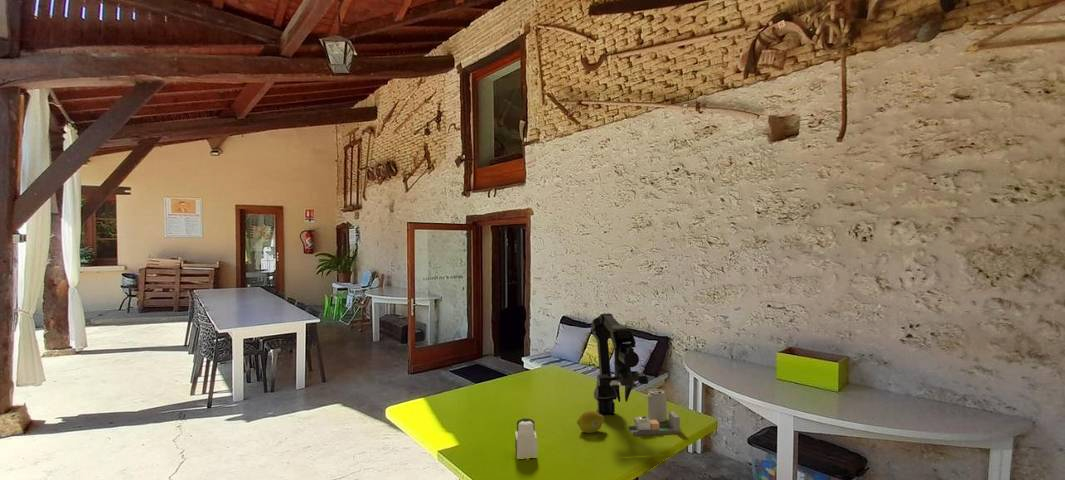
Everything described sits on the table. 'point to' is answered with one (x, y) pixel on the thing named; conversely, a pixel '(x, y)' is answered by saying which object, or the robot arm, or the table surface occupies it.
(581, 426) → the lemon
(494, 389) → the table surface
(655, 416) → the can
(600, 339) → the robot arm
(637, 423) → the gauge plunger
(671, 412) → the gauge bench
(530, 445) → the medicine bottle
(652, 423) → the block
